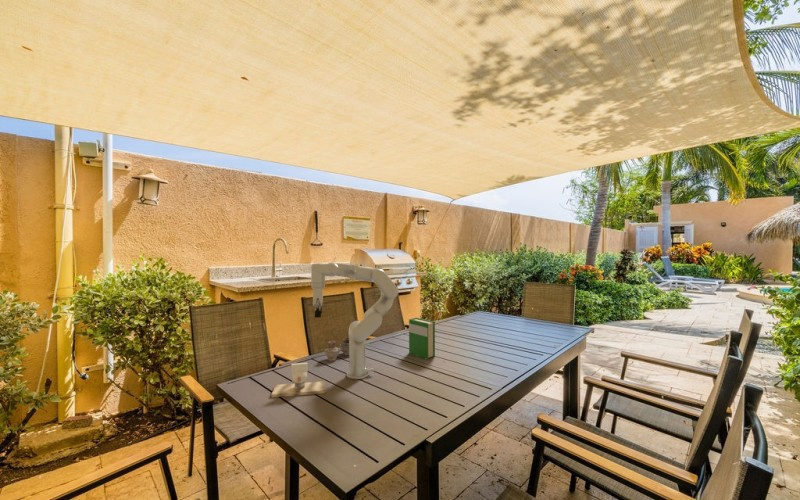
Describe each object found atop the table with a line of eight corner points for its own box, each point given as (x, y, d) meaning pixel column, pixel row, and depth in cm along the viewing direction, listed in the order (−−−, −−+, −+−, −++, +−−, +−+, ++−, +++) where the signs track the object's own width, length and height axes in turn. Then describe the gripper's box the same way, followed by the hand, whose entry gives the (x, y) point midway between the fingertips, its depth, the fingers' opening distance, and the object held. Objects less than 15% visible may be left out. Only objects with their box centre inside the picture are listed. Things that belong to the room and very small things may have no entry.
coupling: (292, 378, 181) (292, 361, 181) (307, 376, 183) (307, 360, 183) (290, 385, 172) (290, 368, 172) (307, 383, 174) (307, 366, 174)
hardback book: (434, 356, 231) (434, 321, 231) (427, 359, 227) (427, 323, 226) (416, 350, 245) (416, 317, 244) (409, 353, 240) (409, 319, 239)
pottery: (320, 360, 226) (320, 342, 225) (347, 350, 246) (347, 334, 246) (332, 363, 219) (332, 345, 219) (359, 353, 239) (359, 336, 239)
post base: (325, 383, 187) (325, 374, 186) (324, 393, 175) (324, 383, 175) (275, 387, 182) (275, 378, 182) (271, 397, 170) (271, 387, 170)
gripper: (312, 283, 200) (312, 312, 200) (310, 287, 183) (310, 319, 183) (325, 283, 201) (325, 312, 201) (324, 287, 184) (324, 318, 184)
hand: (318, 315), depth 192 cm, fingers open, 9 cm apart
